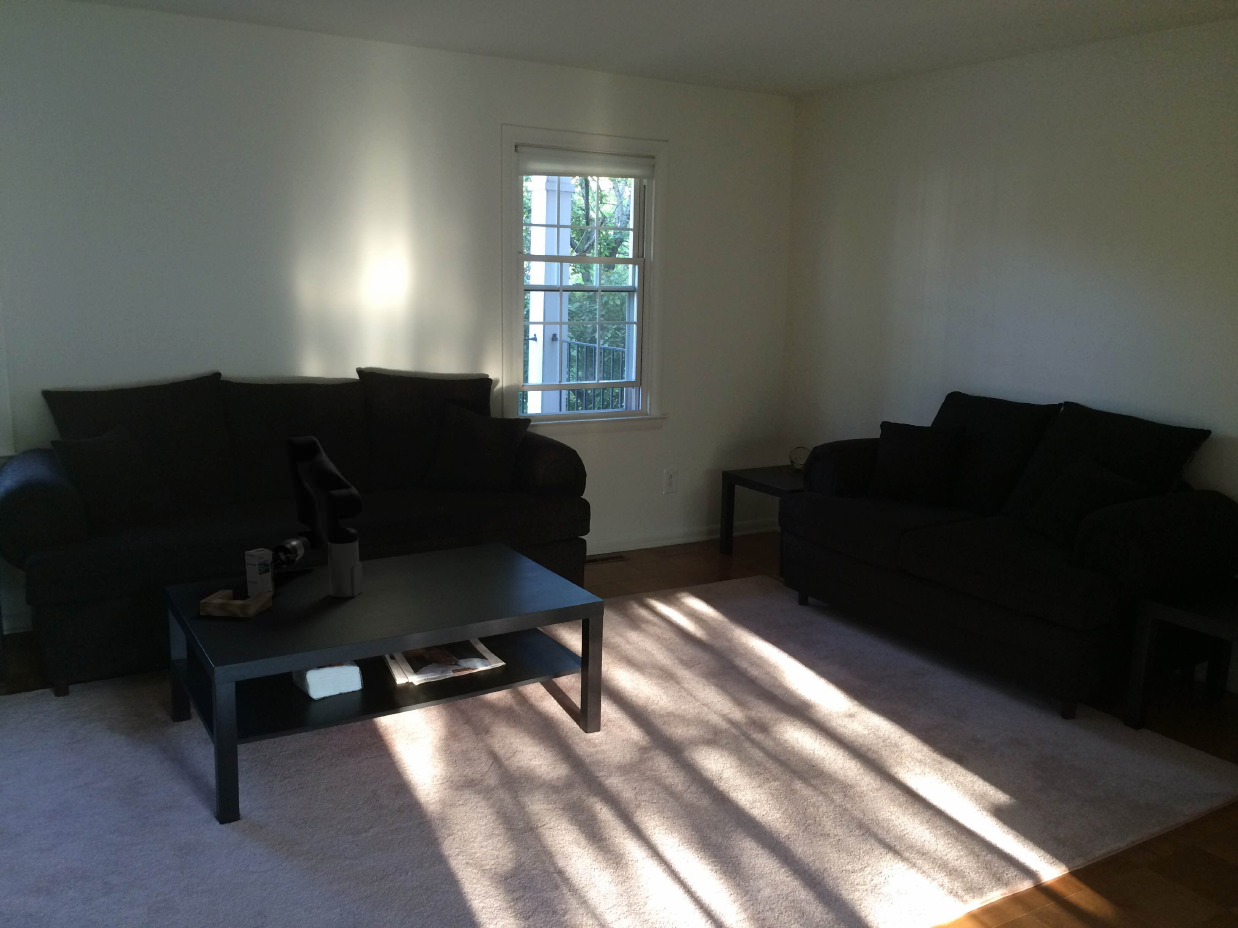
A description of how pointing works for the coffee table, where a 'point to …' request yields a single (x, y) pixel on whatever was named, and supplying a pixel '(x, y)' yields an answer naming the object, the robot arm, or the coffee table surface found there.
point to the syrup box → (259, 571)
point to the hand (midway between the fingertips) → (262, 565)
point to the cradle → (235, 604)
